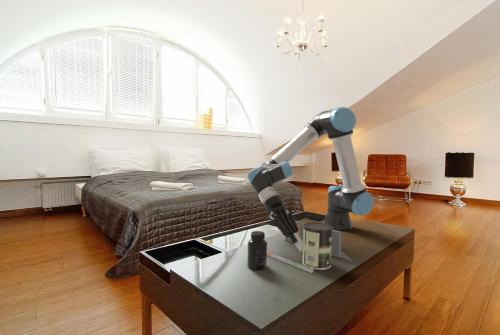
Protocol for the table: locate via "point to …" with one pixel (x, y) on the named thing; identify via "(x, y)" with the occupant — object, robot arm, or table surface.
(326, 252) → the coffee can
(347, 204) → the robot arm
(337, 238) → the panel board
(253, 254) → the supplement bottle
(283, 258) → the front rail
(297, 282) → the table surface
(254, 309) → the table surface
